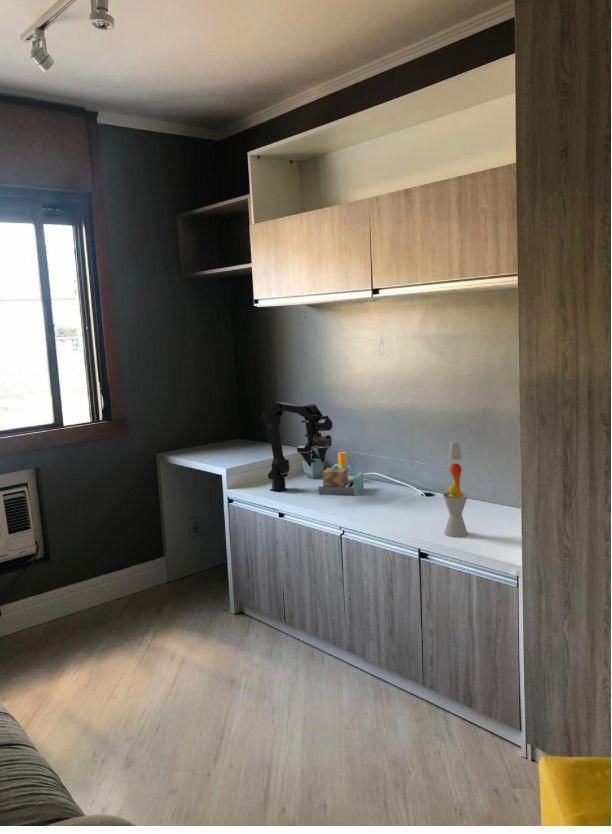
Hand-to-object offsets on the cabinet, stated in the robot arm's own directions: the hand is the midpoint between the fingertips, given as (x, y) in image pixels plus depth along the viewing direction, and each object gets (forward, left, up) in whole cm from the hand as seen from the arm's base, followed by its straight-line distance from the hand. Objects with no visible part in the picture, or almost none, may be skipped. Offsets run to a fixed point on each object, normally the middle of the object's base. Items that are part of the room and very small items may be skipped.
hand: (316, 464), depth 312 cm
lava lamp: (+81, -8, -16) cm, 83 cm away
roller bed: (+1, +13, -16) cm, 21 cm away
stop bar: (+10, +18, -16) cm, 26 cm away
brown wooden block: (0, +12, -12) cm, 17 cm away
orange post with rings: (-11, +30, -16) cm, 36 cm away
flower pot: (-30, +28, -16) cm, 44 cm away
